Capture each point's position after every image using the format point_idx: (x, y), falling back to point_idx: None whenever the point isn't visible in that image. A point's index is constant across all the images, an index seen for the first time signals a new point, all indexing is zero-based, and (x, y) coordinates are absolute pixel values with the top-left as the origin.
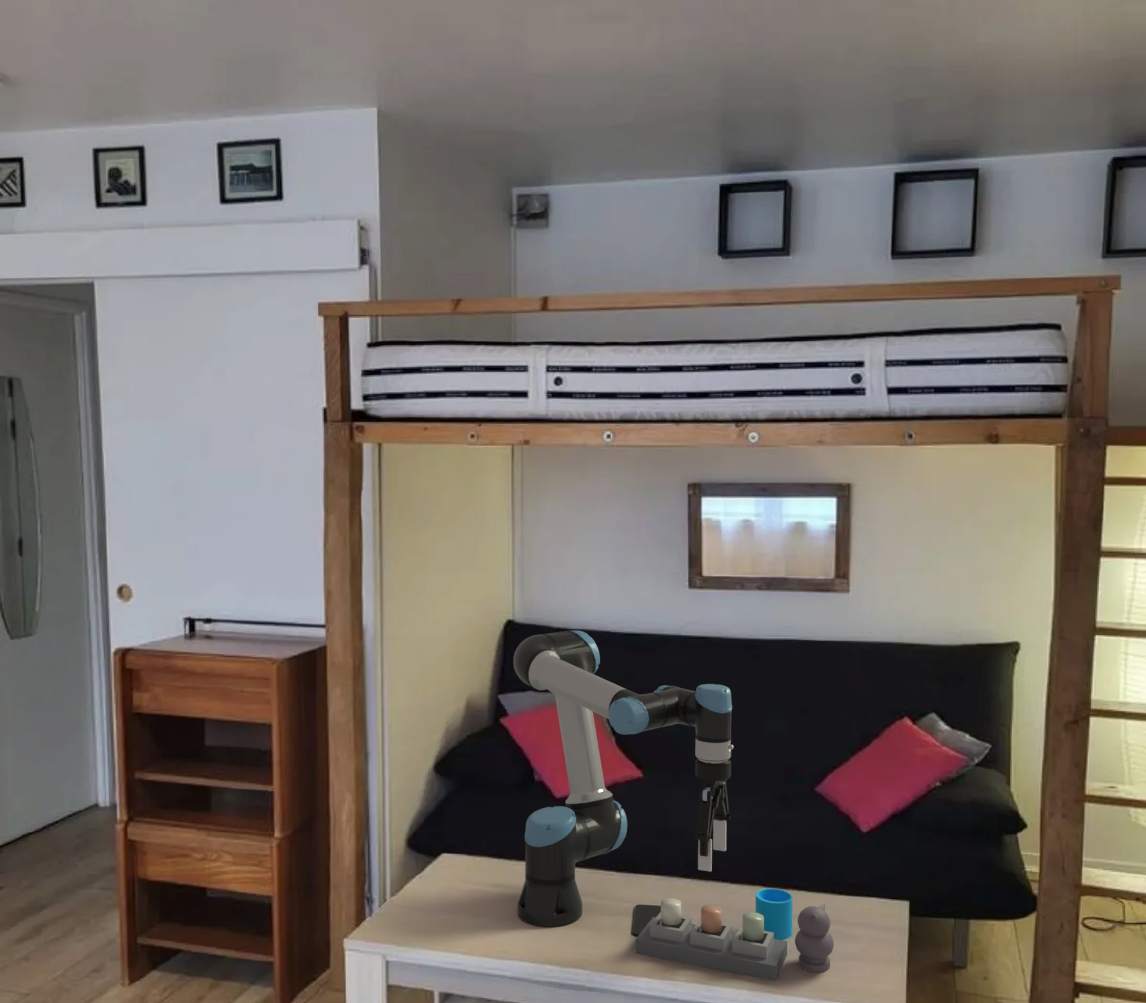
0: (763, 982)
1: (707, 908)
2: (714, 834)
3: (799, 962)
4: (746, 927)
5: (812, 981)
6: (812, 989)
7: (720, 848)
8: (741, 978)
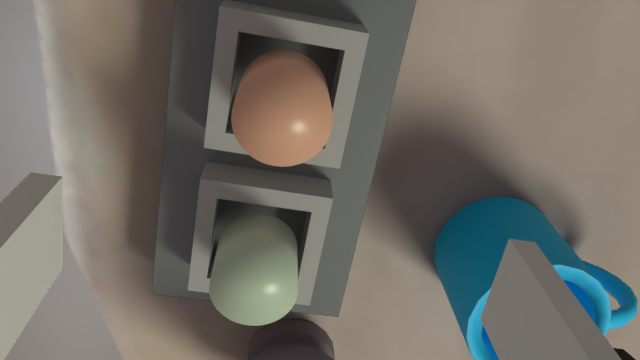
0: (140, 236)
1: (289, 100)
2: (557, 327)
3: (278, 326)
4: (220, 250)
5: (193, 350)
6: (147, 351)
7: (495, 298)
8: (141, 175)
